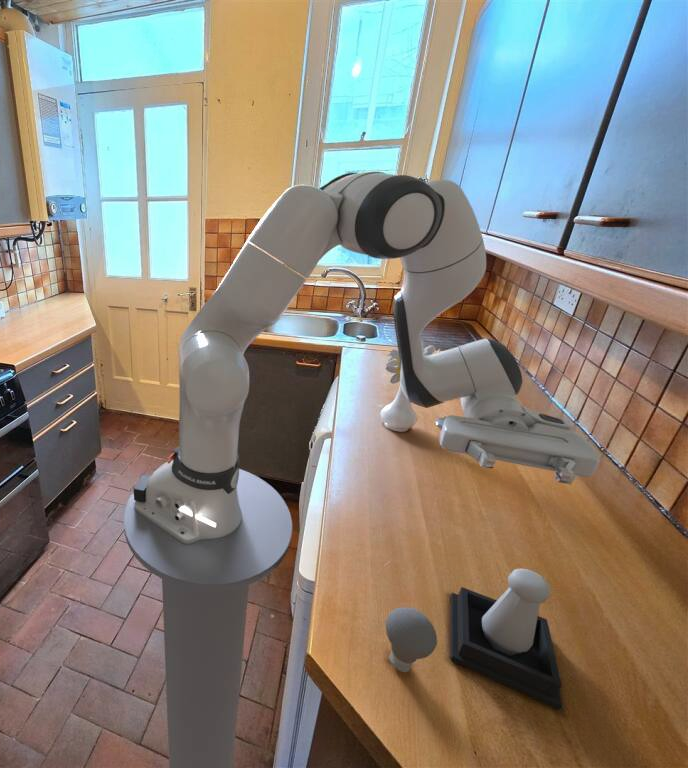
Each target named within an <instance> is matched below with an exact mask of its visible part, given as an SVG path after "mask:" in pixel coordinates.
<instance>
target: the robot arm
mask: <svg viewBox="0 0 688 768" xmlns="http://www.w3.org/2000/svg"><path fill="white" fill-rule="evenodd" d="M480 227H481V226H480V224H479V222H478V218H477V216H476V213H475V211H474V208H473V207H472V205H471V203H470V201H469V199H468V197H467V195H466V193H465V191H464V190H463V188H462V187H461V185H459V184H458V183H456V182H454V181H453V180H449V179H436V180H435V179H434V180H429V181H427V182H426V181H424V180H421V179H419V178H417V177H414V176H412V175H407V174H398V175H396V174H392V173H391V174H390V173H386V172H383V171H364V172H347V173H344V174H340V175H338V176H336V177H334V178H332V179H331V180H329V181H328V182H327V183H325V184H324V185H322V186H321V187H316V186H315V185H314V186H313V185H309V184H297V185H296V184H295V185H293V186H290V187H289V188H287V189H285V190H284V192H283V193H282V194H281V195H280V196H279V197H278V198H277V199H276V200H275V202H274V203H273V204H272V205H271V206H270V207H269V209H268V210H267V211H266V213H265V214H264V215H263V217H262V218H261V219H260V220H259V222H258V223H257V224H256V226H255V228H254V229H253V230H252V232H251V234H250V235H249V236H248V238H247V240H246V242H245V243H244V245H243V247H242V248H241V250H240V251H239V253H238V254H237V256H236V258H235V259H234V261H233V263H232V264H231V266H230V268H229V269H228V271H227V273H226V274H225V276H224V277H223V279H222V280H221V282H220V283H219V285H218V287H217V288H216V290H214V291H213V293H212V295H211V296H210V297H209V298H208V300H207V301H206V302H205V303H204V304H203V306H202V307H201V308H200V309H199V311H198V313H197V314H196V315H195V316H194V318H193V319H192V320H191V322H190V323H189V324H188V326H187V327H186V328H185V329H184V331H183V332H182V335H181V336H180V338H179V340H178V345H177V357H178V379H179V380H178V381H179V388H178V389H179V390H178V391H179V393H178V394H179V409H178V410H179V412H178V413H179V414H178V415H179V416H178V417H179V419H178V430H179V431H178V437H179V441H178V442H179V444H178V445H179V446H177V447H176V448H175V449H173V450H172V454H170V455H169V456H168V458H167V461H166V462H165V463H163V464H161V465H160V466H159V467H157V468H156V469H155V471H154V472H153V473H152V474H151V475H147V474H142V475H141V477H140V478H139V480H138V481H137V482H136V484H135V486H133V488H132V490H133V493H134V500H135V509H136V510H137V511H138V512H139V513H141V514H142V515H144V516H145V517H147V518H148V519H149V520H151V521H152V522H154V523H155V524H157V525H158V526H159V527H161V528H162V529H164V530H165V531H167V532H168V533H169V534H171V535H172V536H174V537H175V538H177V539H178V540H180V541H181V542H182V543H185V544H189V543H193V542H196V541H198V540H202V539H215V538H220V537H223V536H226V535H228V534H230V533H232V532H233V531H234V530H235V529H236V528H237V527H238V526H239V524H240V522H241V519H242V511H241V508H240V505H239V500H238V493H237V484H238V480H239V469H240V454H239V453H238V451H239V436H240V424H241V418H242V414H243V411H244V407H245V402H246V400H247V398H248V395H249V391H250V368H249V365H248V362H247V360H246V358H245V355H244V354H245V352H246V350H247V349H248V347H249V346H250V345H251V344H252V342H253V341H254V340H256V339H257V338H258V337H259V336H260V335H261V334H262V333H263V332H264V331H266V329H268V328H270V327H272V326H274V325H275V324H277V323H278V322H279V321H280V319H281V318H282V317H283V315H284V314H285V312H286V311H287V310H288V308H289V306H291V303H292V302H293V300H294V299H295V298H296V296H297V295H298V294H299V292H300V290H301V289H302V287H303V286H304V285H305V283H306V282H307V279H309V278H310V276H311V274H312V272H314V270H315V268H316V266H317V265H318V263H319V262H320V260H322V258H323V257H324V256H325V255H327V254H328V253H329V252H330V251H331V250H332V249H335V248H336V247H337V246H341V247H342V248H343V249H345V250H347V251H350V252H353V253H356V254H360V255H365V256H368V257H370V258H372V259H373V258H374V259H379V260H394V259H400V262H401V266H402V269H403V272H404V278H403V283H402V286H401V289H400V291H398V292H397V294H396V295H394V297H393V302H392V311H393V312H392V313H393V314H392V315H393V321H394V322H393V323H394V331H395V339H396V344H397V351H399V358H400V365H401V372H400V381H399V382H400V384H401V387H402V390H403V393H404V395H405V396H406V398H407V399H408V400H409V401H410V402H411V404H413V405H416V406H418V407H422V408H425V409H428V408H431V407H435V406H438V405H441V404H445V403H446V402H450V401H455V400H458V399H460V405H461V409H462V413H463V415H464V416H460V415H453V414H452V415H446V416H443V417H436V419H435V420H434V421H435V426H436V427H437V428H438V429H439V430H440V432H439V445H440V447H441V448H442V449H444V450H445V451H448V452H455V453H460V454H465V455H468V456H469V457H471V458H472V459H474V460H475V461H476V462H478V464H479V466H480V467H482V468H487V469H493V468H494V465H495V464H496V461H500V462H506V463H510V464H515V465H520V466H526V467H530V468H531V467H532V468H535V469H540V470H541V469H542V470H547V471H552V472H554V474H553V477H554V479H555V480H556V483H561V484H566V485H572V484H573V482H574V480H575V478H576V476H577V477H583V478H590V477H591V476H592V475H594V474H595V472H596V471H597V469H598V468H599V465H600V462H601V456H600V454H599V453H598V451H597V450H596V449H595V448H594V447H593V445H592V444H590V442H589V441H588V440H587V439H586V438H585V437H583V436H582V435H581V434H579V433H578V432H575V431H573V425H572V423H571V422H570V421H568V420H565V419H562V418H558V417H555V416H551V415H548V414H546V413H545V414H544V413H541V412H538V411H536V410H534V409H531V408H529V407H527V406H524V405H522V404H521V402H520V400H519V398H518V396H517V395H518V394H519V393H520V391H521V388H522V385H523V375H522V371H521V368H520V366H519V364H518V362H517V360H516V358H515V357H514V355H513V354H512V352H511V351H510V350H509V349H508V347H507V346H506V345H505V344H503V343H501V342H499V341H497V340H495V339H492V338H487V337H485V338H482V339H478V340H474V341H471V342H467V343H465V344H462V345H458V346H456V347H452V348H449V349H445V350H442V351H440V352H439V353H437V352H436V353H435V352H434V353H433V354H432V355H425V356H424V355H423V347H422V340H423V338H422V334H423V331H424V330H425V328H426V327H427V326H428V325H429V324H430V323H431V322H432V321H433V320H435V319H436V318H437V317H438V316H440V315H442V314H443V313H444V312H446V311H447V310H449V309H450V308H452V307H454V306H455V305H457V304H459V303H460V302H461V301H463V300H465V299H466V298H467V297H468V296H469V295H470V294H471V293H473V291H474V290H475V289H476V288H477V287H478V285H479V284H480V283H481V281H482V279H483V278H484V275H485V273H486V270H487V253H486V247H485V241H484V238H483V234H482V231H481V228H480Z"/></svg>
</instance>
